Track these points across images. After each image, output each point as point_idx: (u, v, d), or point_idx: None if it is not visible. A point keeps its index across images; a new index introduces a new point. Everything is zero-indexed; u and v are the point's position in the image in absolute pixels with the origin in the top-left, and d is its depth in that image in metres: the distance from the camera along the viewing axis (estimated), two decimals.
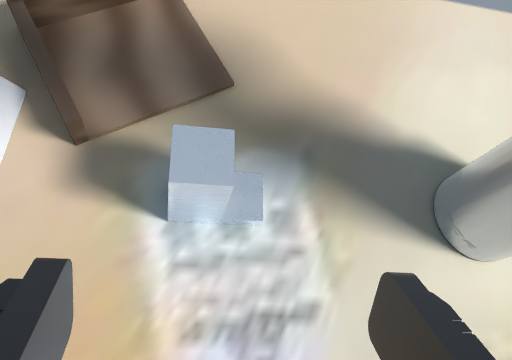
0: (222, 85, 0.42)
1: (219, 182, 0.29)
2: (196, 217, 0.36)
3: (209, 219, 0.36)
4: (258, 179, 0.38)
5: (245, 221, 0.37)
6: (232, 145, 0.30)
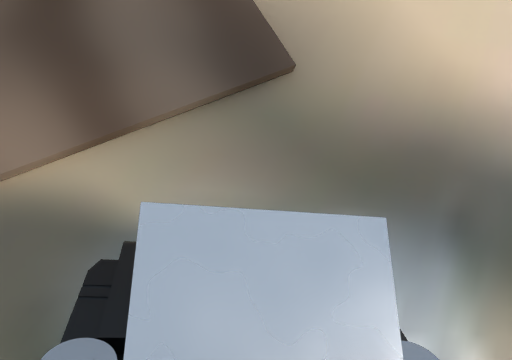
0: (270, 70, 0.19)
1: None
2: None
3: None
4: None
5: None
6: (386, 288, 0.07)
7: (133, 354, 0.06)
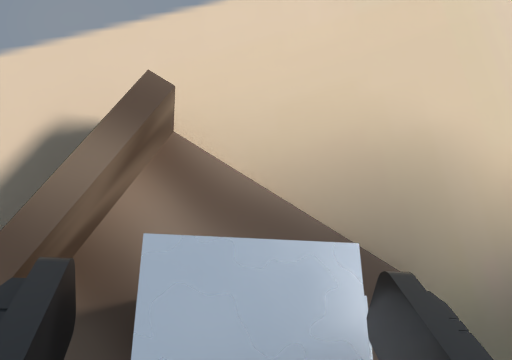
0: None
1: None
2: None
3: None
4: None
5: None
6: (358, 306, 0.08)
7: None
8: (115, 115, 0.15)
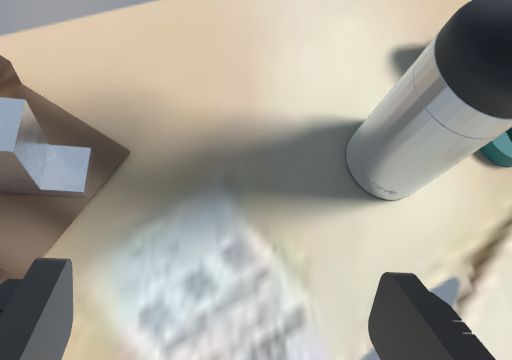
0: (119, 159, 0.42)
1: None
2: (14, 187, 0.37)
3: (30, 190, 0.38)
4: (85, 152, 0.40)
5: (67, 192, 0.38)
6: (19, 114, 0.32)
7: None
8: None
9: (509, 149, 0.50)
